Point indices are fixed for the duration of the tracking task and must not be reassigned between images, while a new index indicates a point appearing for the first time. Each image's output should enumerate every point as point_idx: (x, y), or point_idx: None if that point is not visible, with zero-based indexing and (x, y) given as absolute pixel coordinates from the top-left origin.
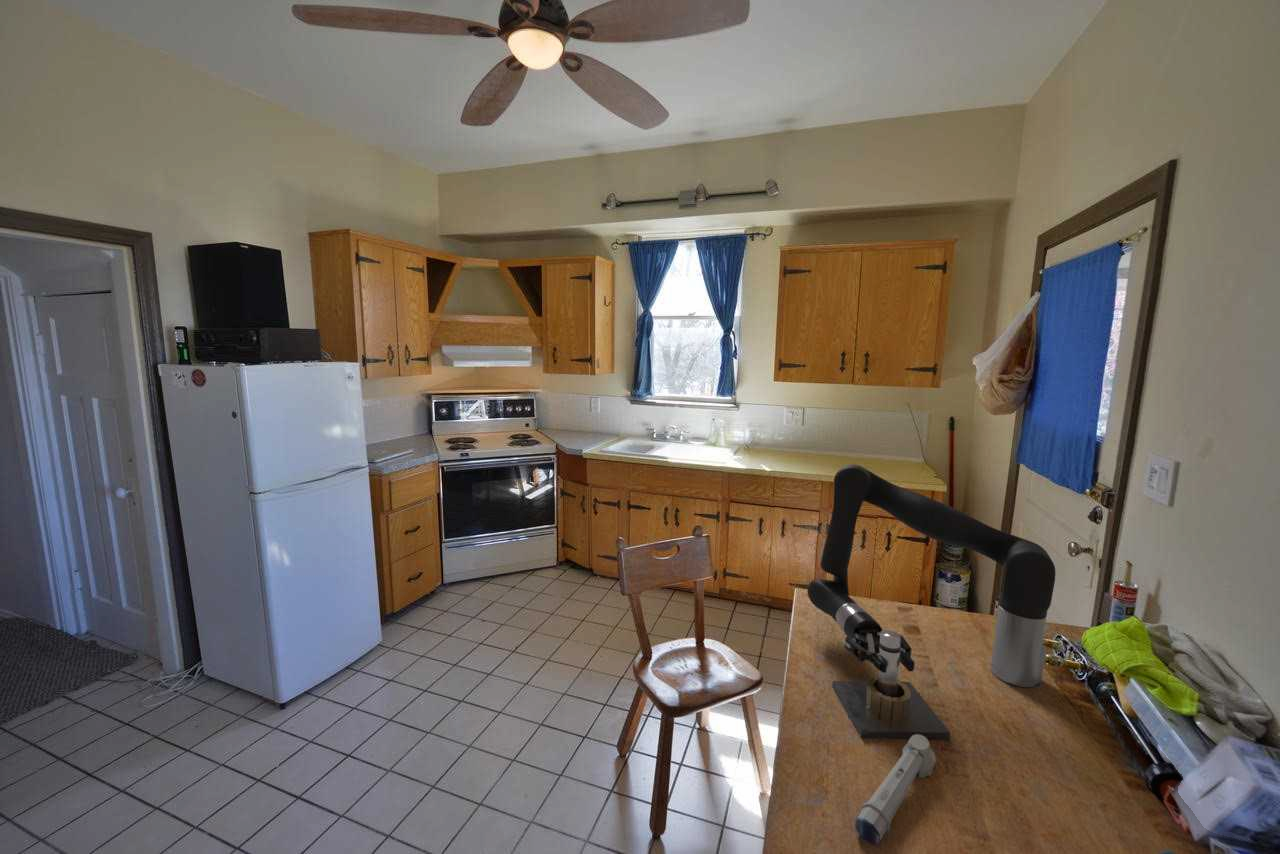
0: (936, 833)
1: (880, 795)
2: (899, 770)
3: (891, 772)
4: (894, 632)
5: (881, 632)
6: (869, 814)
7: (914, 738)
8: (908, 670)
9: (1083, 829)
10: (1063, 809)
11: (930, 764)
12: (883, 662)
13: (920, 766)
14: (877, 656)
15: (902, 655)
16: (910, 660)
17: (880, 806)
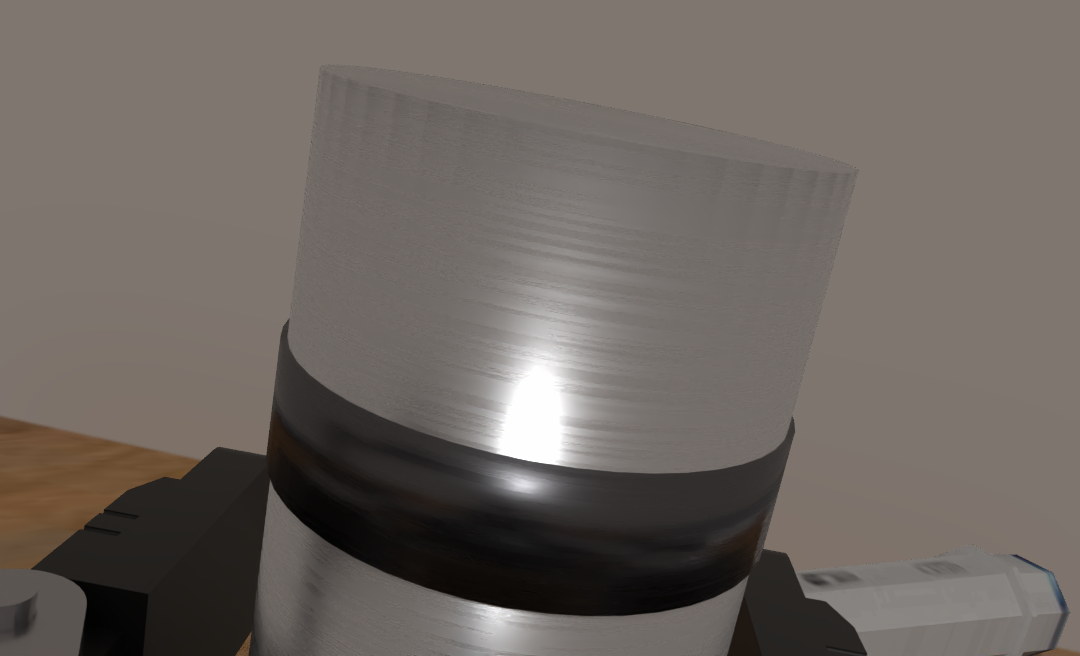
0: None
1: (960, 574)
2: (827, 582)
3: (862, 615)
4: (382, 82)
5: (799, 163)
6: (1020, 568)
7: None
8: (250, 627)
9: (105, 464)
10: (56, 499)
11: None
12: (764, 557)
13: None
14: (819, 653)
15: (182, 579)
16: (224, 466)
17: (969, 560)
